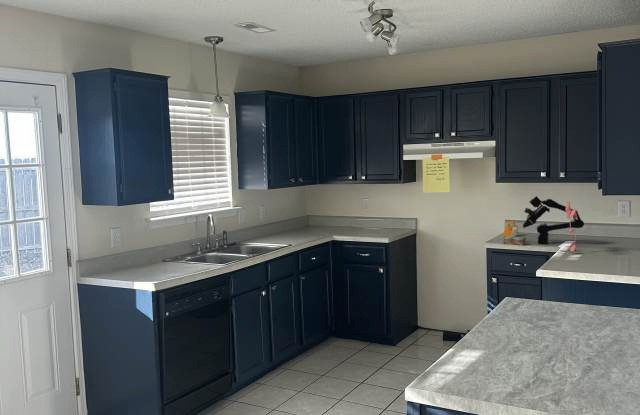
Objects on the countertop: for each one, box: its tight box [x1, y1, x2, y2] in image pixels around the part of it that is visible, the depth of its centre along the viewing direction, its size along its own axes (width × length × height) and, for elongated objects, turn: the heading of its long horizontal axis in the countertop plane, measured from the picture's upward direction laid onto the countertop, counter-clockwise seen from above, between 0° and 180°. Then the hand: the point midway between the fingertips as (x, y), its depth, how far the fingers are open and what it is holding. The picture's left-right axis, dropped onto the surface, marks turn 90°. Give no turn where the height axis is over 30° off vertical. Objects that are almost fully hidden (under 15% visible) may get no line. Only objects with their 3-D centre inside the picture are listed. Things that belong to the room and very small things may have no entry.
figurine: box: [565, 200, 578, 252], centre depth 410 cm, size 15×26×35 cm, turn 166°
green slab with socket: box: [502, 236, 527, 246], centre depth 449 cm, size 15×12×5 cm
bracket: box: [502, 220, 516, 237], centre depth 481 cm, size 11×7×12 cm, turn 64°
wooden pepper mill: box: [512, 224, 519, 237], centre depth 452 cm, size 4×4×13 cm
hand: (523, 226), depth 450 cm, fingers open, 9 cm apart
